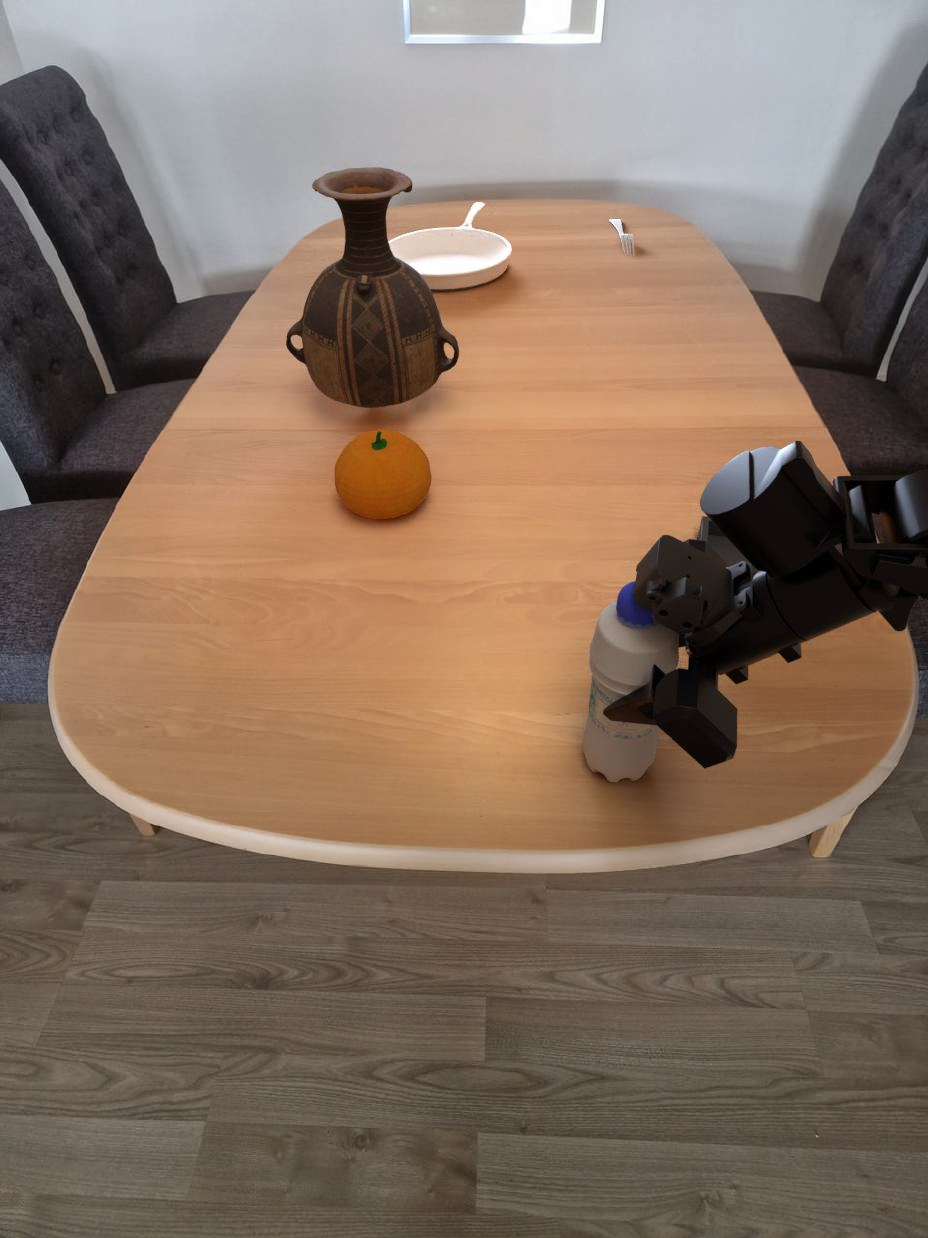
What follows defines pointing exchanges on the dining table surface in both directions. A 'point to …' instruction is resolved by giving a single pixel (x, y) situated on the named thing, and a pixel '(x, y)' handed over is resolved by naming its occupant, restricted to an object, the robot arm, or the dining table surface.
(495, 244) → the pan
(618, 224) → the fork
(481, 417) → the dining table surface
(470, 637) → the dining table surface
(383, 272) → the vase
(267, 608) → the dining table surface
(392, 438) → the fruit
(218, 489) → the dining table surface
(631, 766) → the bottle
